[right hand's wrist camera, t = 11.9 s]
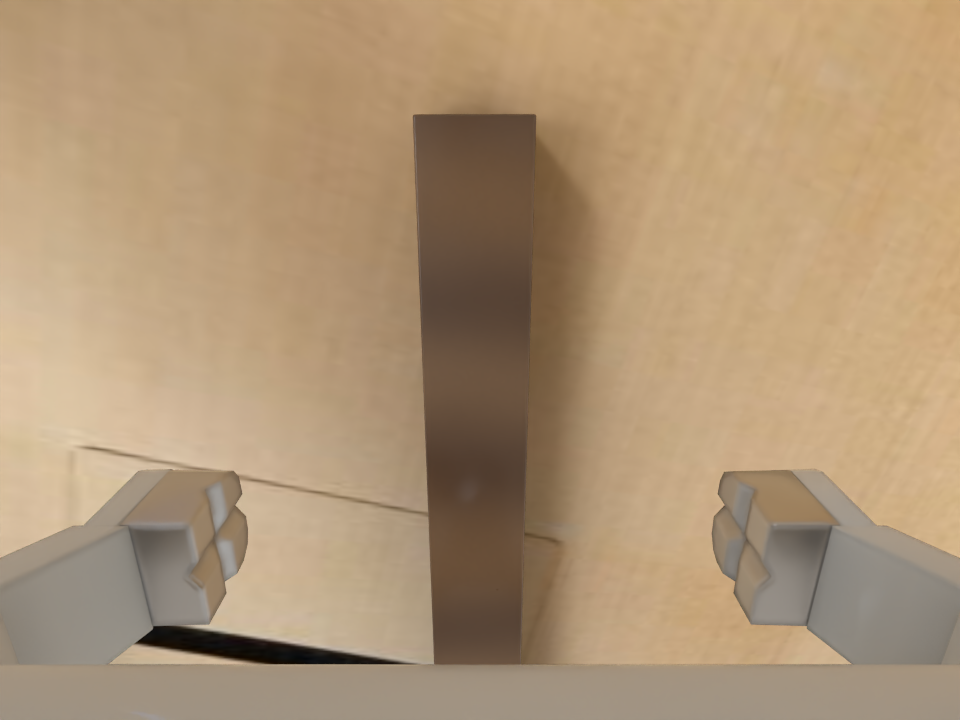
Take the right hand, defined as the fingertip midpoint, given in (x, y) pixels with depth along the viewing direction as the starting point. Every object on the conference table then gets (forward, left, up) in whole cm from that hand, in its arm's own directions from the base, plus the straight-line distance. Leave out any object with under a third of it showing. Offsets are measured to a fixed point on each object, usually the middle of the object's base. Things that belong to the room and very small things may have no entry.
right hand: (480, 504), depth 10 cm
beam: (+19, -4, -25) cm, 32 cm away
